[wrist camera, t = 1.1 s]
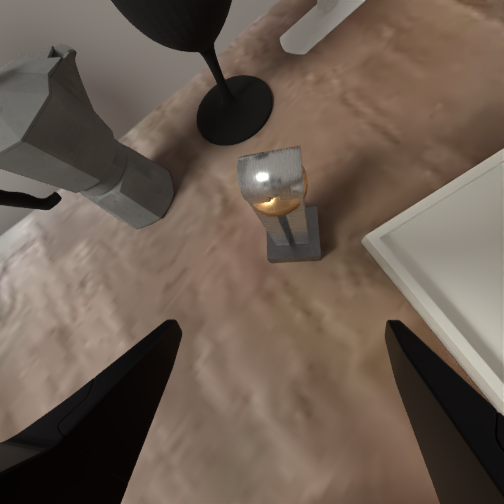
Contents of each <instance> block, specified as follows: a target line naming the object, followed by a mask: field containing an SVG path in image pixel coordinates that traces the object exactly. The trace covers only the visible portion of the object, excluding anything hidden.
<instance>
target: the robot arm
mask: <svg viewBox="0 0 504 504" xmlns="http://www.w3.org/2000/svg"><path fill="white" fill-rule="evenodd" d="M181 338H182V330H181V328H180V326H179V324H178V322H177V321H176V320H174V319H169V320H166V321H165V322H163V323H162V324H161V325H160V326H158V327H157V328H156V329H155V330H153V331H152V332H151V333H150V334H148V335H147V336H146V337H145V338H143V339H142V340H141V341H140V342H138V343H137V344H136V345H135V346H133V347H132V348H131V349H130V350H128V351H127V352H126V353H125V354H123V355H122V356H121V357H120V358H118V359H117V360H116V361H115V362H113V363H112V364H111V365H109V366H108V367H107V368H106V369H104V370H103V371H102V372H101V373H99V374H98V375H97V376H96V377H95V378H93V379H92V380H91V381H89V382H88V383H87V384H86V385H84V386H83V387H82V388H81V389H79V390H78V391H77V392H75V393H74V394H73V395H71V396H70V397H69V398H67V399H66V400H65V401H63V402H62V403H61V404H59V405H58V406H56V407H55V408H54V409H52V410H51V411H49V412H48V413H47V414H45V415H44V416H42V417H41V418H40V419H38V420H37V421H35V422H34V423H33V424H31V425H30V426H29V427H27V428H26V429H24V430H23V431H21V432H20V433H18V434H17V435H15V436H13V437H12V438H10V439H8V440H6V441H3V442H1V443H0V504H121V501H122V499H123V496H124V493H125V491H126V488H127V486H128V482H129V480H130V478H131V475H132V472H133V470H134V467H135V465H136V462H137V460H138V457H139V454H140V452H141V449H142V447H143V444H144V441H145V439H146V436H147V434H148V431H149V428H150V426H151V423H152V421H153V418H154V416H155V413H156V410H157V408H158V405H159V403H160V400H161V397H162V395H163V392H164V390H165V387H166V384H167V382H168V379H169V377H170V374H171V371H172V369H173V366H174V362H175V359H176V355H177V352H178V348H179V345H180V341H181ZM385 341H386V345H387V349H388V353H389V357H390V361H391V365H392V370H393V374H394V377H395V381H396V384H397V387H398V390H399V393H400V395H401V398H402V401H403V404H404V406H405V409H406V412H407V415H408V417H409V420H410V423H411V425H412V428H413V431H414V434H415V436H416V439H417V442H418V444H419V447H420V450H421V453H422V455H423V458H424V461H425V464H426V466H427V469H428V472H429V474H430V477H431V480H432V483H433V485H434V488H435V491H436V494H437V496H438V499H439V502H440V504H504V416H503V415H502V414H501V413H500V412H497V410H496V408H494V407H493V406H492V405H491V404H490V403H489V402H488V401H487V400H486V399H485V398H484V397H483V396H481V395H480V394H479V393H478V392H477V391H476V390H475V389H474V388H473V387H472V386H471V385H470V384H468V383H467V382H466V381H465V380H464V379H463V378H462V377H461V376H460V375H459V374H458V373H457V372H455V371H454V370H453V369H452V368H451V367H450V366H449V365H448V364H447V363H446V362H445V361H444V360H442V359H441V358H440V357H439V356H438V355H437V354H436V353H435V352H434V351H433V350H432V349H431V348H429V347H428V346H427V345H426V344H425V343H424V342H423V341H422V340H421V339H420V338H419V337H418V336H416V335H415V334H414V333H413V332H412V331H411V330H410V329H409V328H408V327H407V326H406V325H405V324H403V323H402V322H401V321H400V320H388V321H387V322H386V329H385Z"/></svg>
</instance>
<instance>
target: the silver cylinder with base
mask: <svg viewBox="0 0 504 504" xmlns="http://www.w3.org/2000/svg"><path fill="white" fill-rule="evenodd" d="M237 174H238V181H239V186H240V190H241V193H242V196H243V198H244V199H245V200H246V201H248V203H249V204H250V206H251V207H252V209H253V210H254V212H255V213H256V215H257V216H258V218H259V219H260V221H261V222H262V224H263V225H264V227H265V228H266V230H267V260H268V261H269V262H271V263H284V262H301V261H318V260H321V249H320V237H319V225H318V212H317V206H310V207H306V205H305V196H306V193H307V176H306V171H305V169H304V167H303V165H302V156H301V147H300V146H295V147H289V148H284V149H278V150H273V151H268V152H262V153H257V154H251V155H246V156H241V157H239V158H238V163H237Z"/></svg>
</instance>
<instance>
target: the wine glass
mask: <svg viewBox="0 0 504 504" xmlns="http://www.w3.org/2000/svg"><path fill="white" fill-rule="evenodd" d="M111 1H112V2H113V3H114V5H115V6H116V7H117V9H118V10H119V11H120V12H121V13H122V14H123V15H124V17H126V19H127V20H128V21H129V22H130V23H131V24H132V25H134V26H135V27H136V28H137V29H138V30H140V31H141V32H142V33H143V34H144V35H146V36H147V37H149V38H150V39H152V40H153V41H155V42H157V43H159V44H161V45H163V46H166V47H169V48H171V49H175V50H179V51H186V52H199V53H200V54H201V55H202V56H203V57H204V59H205V61H206V62H207V64H208V66H209V68H210V70H211V72H212V74H213V76H214V78H215V80H216V82H217V85H216V86H214V87H213V88H212V89H211V90H210V91H209V92H208V93H207V94H206V96H205V97H204V98H203V100H202V102H201V104H200V106H199V109H198V112H197V126H198V129H199V131H200V132H201V134H202V136H203V137H204V138H205V139H206V140H208V141H209V142H211V143H214V144H217V145H234V144H237V143H240V142H243V141H245V140H247V139H249V138H250V137H252V136H253V135H255V134H256V133H257V132H258V131H259V130H260V129H261V128H262V127H263V125H264V124H265V123H266V121H267V119H268V117H269V115H270V112H271V109H272V96H271V92H270V90H269V88H268V86H267V85H266V84H265V83H264V82H263V81H262V80H260V79H258V78H256V77H253V76H247V75H242V76H235V77H231V78H228V79H226V80H225V79H224V77H223V74H222V71H221V69H220V66H219V63H218V60H217V57H216V53H215V49H214V42H215V40H216V38H217V37H218V35H219V33H220V31H221V29H222V27H223V25H224V23H225V21H226V18H227V15H228V12H229V9H230V5H231V2H232V0H111Z"/></svg>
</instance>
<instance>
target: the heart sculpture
mask: <svg viewBox="0 0 504 504" xmlns="http://www.w3.org/2000/svg"><path fill="white" fill-rule="evenodd" d="M364 1H365V0H317V4H316V5H315V6H314V7H313V8H312V9H311V10H310V11H309V12H308V13H307V14H305V15H304V16H303V17H302V18H301V19H300V20H299V21H298V22H297V23H295V24H294V25H293V26H292V27H291V28H290V29H289V30H288V31H287V32H285V33H284V34H283V35H282V36H281V37H280V42H281V45H282V48H283V49H284V51H285V52H288V53H291V54H299V55H305V54H306V53H307V52H308V51H309V50H310V49H311V48H313V47H314V46H315V45H316V44H317V43H318V42H319V41H320V40H322V39H323V38H324V37H325V36H326V35H327V34H328V33H329V32H331V31H332V30H333V29H334V28H335V27H336V26H337V25H338V24H340V23H341V22H342V21H343V20H344V19H345V18H346V17H347V16H349V15H350V14H351V13H352V12H353V11H354V10H355V9H356V8H358V7H359V6H360V5H361V4H362V3H363V2H364Z"/></svg>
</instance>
